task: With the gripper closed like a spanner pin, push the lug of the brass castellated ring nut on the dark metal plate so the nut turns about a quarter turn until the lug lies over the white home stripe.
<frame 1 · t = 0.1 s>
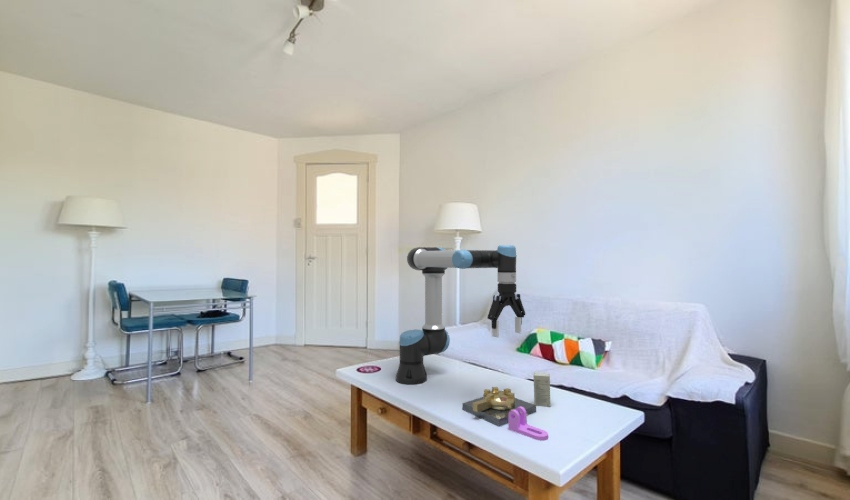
hand: (507, 334, 158), 28 cm above the table, fingers open, 13 cm apart
skincare box: (542, 404, 157), on the table
ring nut: (492, 399, 148), point 5 cm above the table, hinge at 0.0°
base plate: (499, 410, 150), on the table
bracket: (529, 433, 131), on the table
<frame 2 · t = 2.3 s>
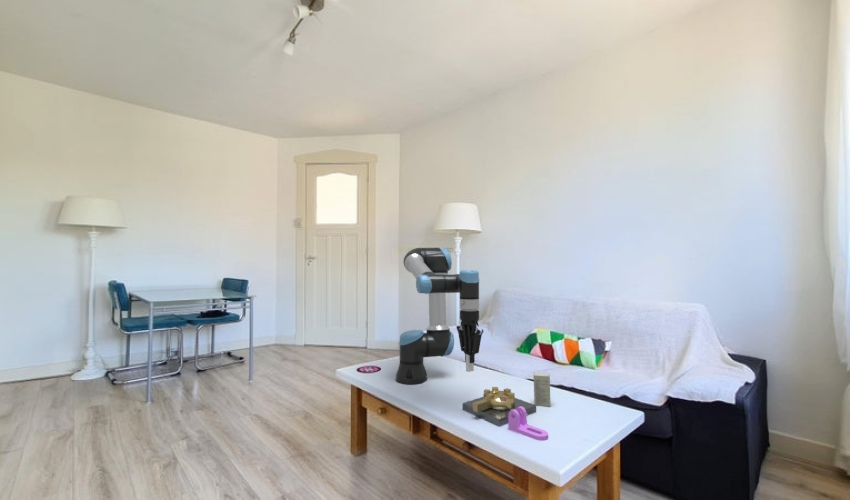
hand: (469, 370, 150), 16 cm above the table, fingers closed
nothing on the table moved.
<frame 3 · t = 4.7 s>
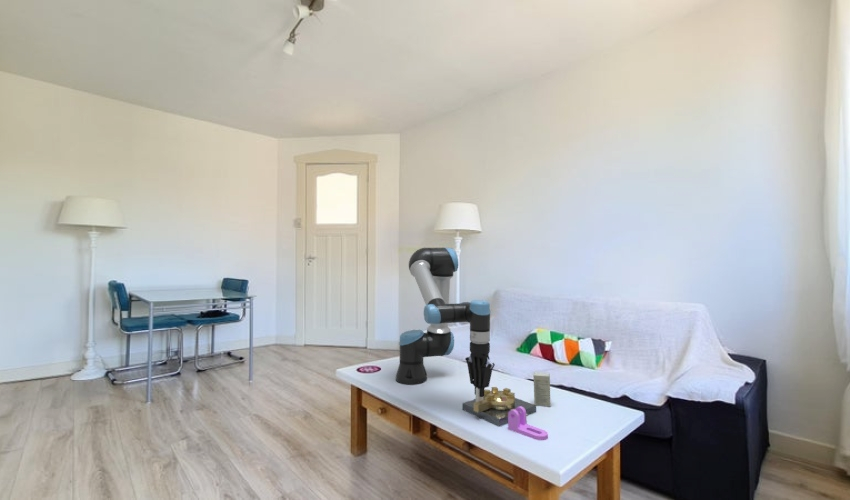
hand: (479, 404, 146), 4 cm above the table, fingers closed
ring nut: (493, 399, 148), point 5 cm above the table, hinge at 2.2°, touching gripper
everything else where it was.
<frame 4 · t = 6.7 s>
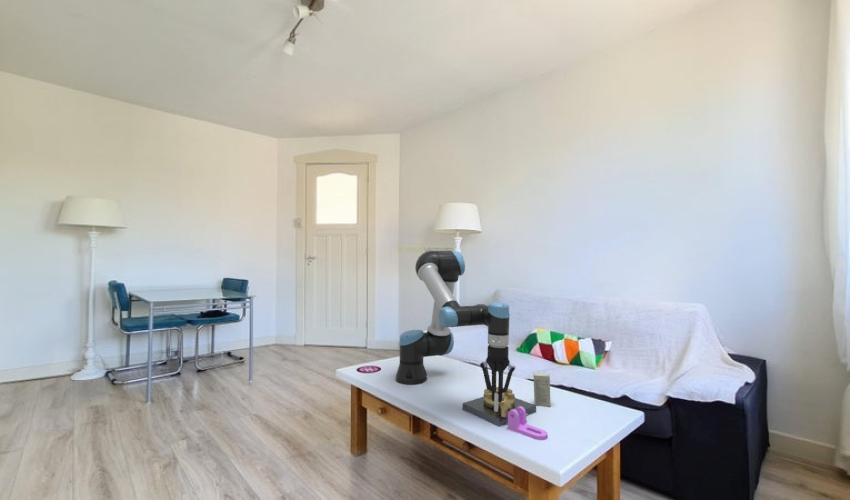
hand: (496, 410, 141), 4 cm above the table, fingers closed
ring nut: (500, 401, 147), point 5 cm above the table, hinge at 51.0°, touching gripper
everything else where it was.
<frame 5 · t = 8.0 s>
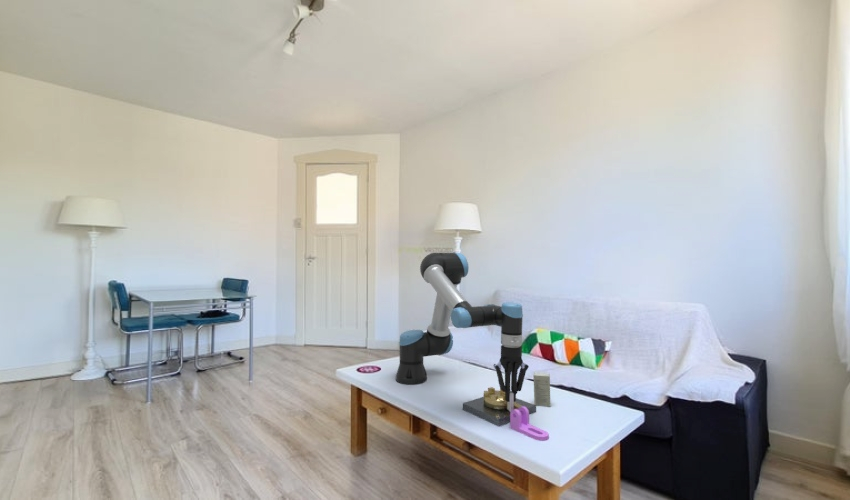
hand: (510, 410, 141), 4 cm above the table, fingers closed
ring nut: (504, 400, 147), point 5 cm above the table, hinge at 80.9°, touching gripper
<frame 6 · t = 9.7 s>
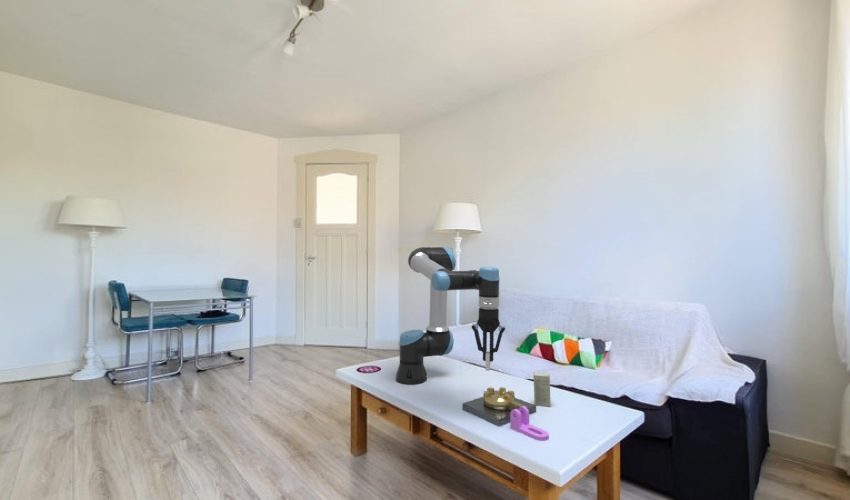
hand: (487, 369, 147), 17 cm above the table, fingers closed
ring nut: (505, 400, 147), point 5 cm above the table, hinge at 85.3°
everything else where it was.
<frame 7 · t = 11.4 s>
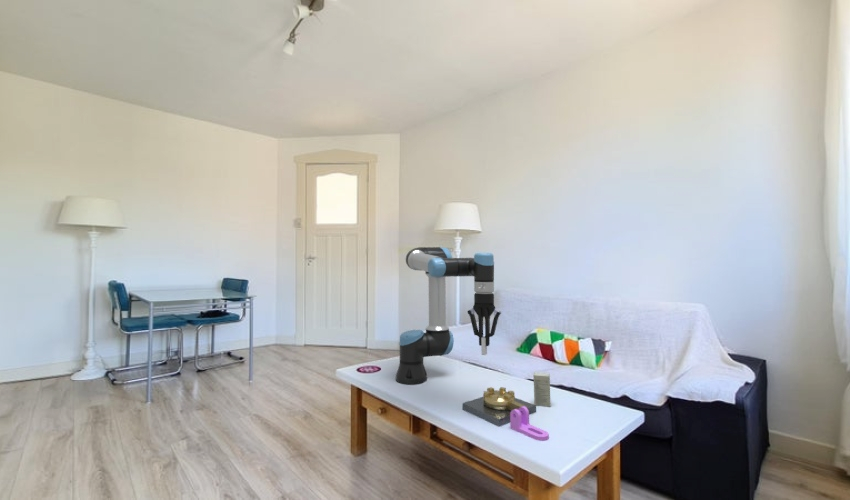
hand: (484, 354, 148), 22 cm above the table, fingers closed
nothing on the table moved.
at the end: ring nut at +85° (first picture: +0°) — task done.
